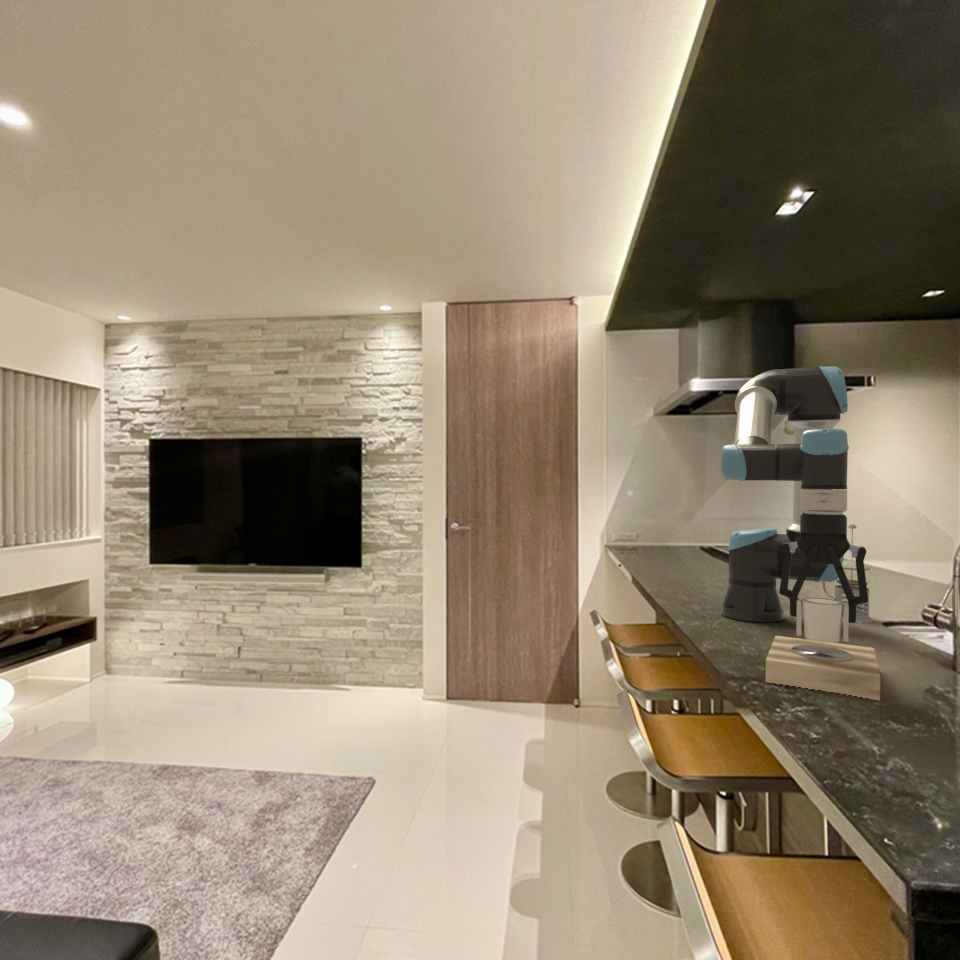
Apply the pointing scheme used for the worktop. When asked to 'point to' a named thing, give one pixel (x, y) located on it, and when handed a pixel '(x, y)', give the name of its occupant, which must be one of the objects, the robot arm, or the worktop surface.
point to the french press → (851, 565)
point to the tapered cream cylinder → (822, 619)
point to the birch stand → (824, 667)
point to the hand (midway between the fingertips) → (821, 636)
